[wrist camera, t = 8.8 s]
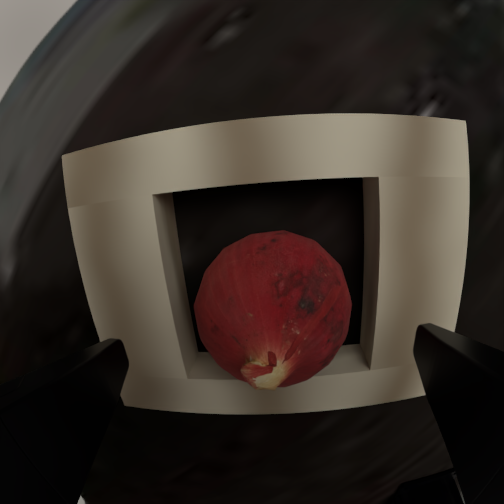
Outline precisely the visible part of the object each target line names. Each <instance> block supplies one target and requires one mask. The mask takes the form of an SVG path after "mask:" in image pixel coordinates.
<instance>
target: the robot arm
mask: <svg viewBox="0 0 504 504" xmlns="http://www.w3.org/2000/svg"><path fill="white" fill-rule="evenodd" d="M413 355H414V359H415V362H416V365H417V368H418V371H419V374H420V378H421V381H422V384H423V388H424V391H425V394H426V397H427V399H428V402H429V404H430V406H431V409H432V411H433V414H434V416H435V418H436V421H437V423H438V426H439V429H440V431H441V434H442V436H443V439H444V442H445V444H446V447H447V450H448V452H449V455H450V458H451V461H452V464H453V466H454V469H452V470H449V471H446V472H443V473H440V474H436V475H433V476H430V477H426V478H423V479H419V480H416V481H412V482H408V483H405V484H403V485H401V486H400V488H399V490H398V492H397V494H396V496H395V497H394V499H393V500H392V502H391V504H464V503H463V500H462V498H461V495H460V493H459V490H458V488H457V485H456V483H455V480H454V479H455V478H456V476H457V478H458V481H459V484H460V487H461V491H462V494H463V497H464V500H465V504H504V352H503V351H500V350H498V349H495V348H493V347H490V346H488V345H485V344H483V343H480V342H477V341H475V340H472V339H470V338H467V337H465V336H462V335H460V334H457V333H455V332H452V331H450V330H447V329H445V328H442V327H440V326H437V325H434V324H432V323H426V324H420V325H418V327H417V329H416V335H415V340H414V346H413ZM128 369H129V359H128V356H127V353H126V350H125V347H124V344H123V342H122V340H120V339H115V338H109V339H106V340H104V341H102V342H100V343H97V344H95V345H93V346H90V347H88V348H86V349H84V350H81V351H79V352H77V353H74V354H72V355H70V356H67V357H65V358H63V359H60V360H58V361H56V362H53V363H51V364H49V365H46V366H44V367H42V368H39V369H37V370H35V371H32V372H30V373H27V374H25V376H24V375H23V376H20V377H18V378H15V379H13V380H10V381H8V382H5V383H3V384H0V504H77V503H78V500H79V498H80V495H81V492H82V490H83V487H84V484H85V482H86V479H87V476H88V474H89V471H90V469H91V466H92V464H93V461H94V459H95V456H96V454H97V451H98V449H99V446H100V444H101V441H102V439H103V437H104V434H105V432H106V429H107V427H108V425H109V422H110V420H111V418H112V415H113V413H114V411H115V408H116V406H117V403H118V400H119V397H120V394H121V391H122V387H123V384H124V381H125V378H126V375H127V372H128Z"/></svg>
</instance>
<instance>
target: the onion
mask: <svg viewBox="0 0 504 504" xmlns="http://www.w3.org/2000/svg"><path fill="white" fill-rule="evenodd" d="M351 307H352V302H351V298H350V293H349V290H348V287H347V284H346V280H345V277H344V274H343V271H342V268H341V265H340V264H339V263H338V262H337V261H336V260H335V259H334V258H333V257H332V256H331V255H330V254H329V253H327V252H326V251H325V250H324V249H323V248H322V247H321V246H320V245H319V244H318V243H317V242H316V241H314V240H313V239H309V238H306V237H303V236H300V235H297V234H294V233H291V232H288V231H285V230H281V231H273V232H264V233H256V234H250V235H248V236H246V237H244V238H243V239H241V240H239V241H237V242H235V243H233V244H231V245H229V246H227V247H225V248H224V249H223V250H222V251H221V252H220V254H219V255H218V256H217V257H216V258H215V260H214V261H213V262H212V263H211V264H210V266H209V267H208V268H207V269H206V270H205V273H204V276H203V279H202V282H201V285H200V288H199V291H198V294H197V297H196V300H195V303H194V311H195V317H196V322H197V327H198V332H199V336H200V339H201V341H202V343H203V344H204V346H205V347H206V349H207V350H208V352H209V353H210V355H211V356H212V357H213V359H214V360H215V362H216V363H217V364H218V365H219V366H220V367H221V368H223V369H224V370H225V371H227V372H228V373H229V374H231V375H232V376H234V377H235V378H236V379H238V380H241V381H244V382H247V383H248V384H249V385H251V386H252V387H253V388H254V389H255V390H263V389H267V390H274V391H275V389H276V388H277V387H288V386H291V385H294V384H297V383H301V382H304V381H306V380H308V379H310V378H311V377H313V376H314V375H316V374H317V373H318V372H320V371H321V370H322V369H324V368H325V367H326V366H328V365H329V364H330V362H331V361H332V360H333V358H334V357H335V355H336V354H337V352H338V350H339V349H340V347H341V346H342V344H343V342H344V341H345V339H346V336H347V333H348V328H349V322H350V315H351Z"/></svg>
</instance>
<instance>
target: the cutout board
mask: <svg viewBox="0 0 504 504" xmlns="http://www.w3.org/2000/svg"><path fill="white" fill-rule="evenodd" d="M62 164H63V174H64V182H65V190H66V198H67V205H68V211H69V217H70V223H71V229H72V234H73V240H74V245H75V249H76V254H77V259H78V263H79V268H80V272H81V276H82V280H83V284H84V288H85V292H86V296H87V299H88V303H89V306H90V310H91V313H92V317H93V320H94V323H95V327H96V330H97V333H98V336H99V339H100V342H102V341H104V340H106V339H109V338H115V339H120V340H122V342H123V344H124V347H125V350H126V353H127V356H128V359H129V369H128V372H127V375H126V378H125V381H124V384H123V387H122V391H121V394H120V395H121V398H122V400H123V402H124V405H125V406H131V407H138V408H146V409H155V410H165V411H176V412H189V413H207V414H284V413H302V412H316V411H327V410H337V409H345V408H353V407H361V406H368V405H375V404H381V403H387V402H392V401H398V400H403V399H408V398H413V397H418V396H422V395H426V394H425V391H424V388H423V384H422V381H421V378H420V374H419V371H418V368H417V365H416V362H415V359H414V355H413V346H414V340H415V335H416V329H417V327H418V325H420V324H426V323H432V324H434V325H437V326H440V327H442V328H445V329H447V330H450V331H452V332H454V330H455V326H456V321H457V316H458V310H459V305H460V299H461V292H462V286H463V278H464V271H465V262H466V252H467V240H468V224H469V156H468V141H467V129H466V121H461V120H453V119H444V118H434V117H423V116H409V115H391V114H307V115H288V116H274V117H262V118H251V119H241V120H232V121H224V122H216V123H209V124H202V125H195V126H189V127H183V128H177V129H171V130H166V131H160V132H155V133H150V134H145V135H141V136H136V137H131V138H127V139H122V140H118V141H114V142H110V143H106V144H102V145H98V146H94V147H90V148H87V149H83V150H80V151H76V152H73V153H69V154H66V155H63V156H62ZM352 177H362V180H363V205H364V279H363V303H362V320H361V334H360V344H353V345H343V346H341V347H340V349H339V350H338V352H337V354H336V355H335V357H334V358H333V360H332V361H331V362H330V364H329V365H328V366H326V367H325V368H324V369H322V370H321V371H320V372H318V373H317V374H316V375H314V376H313V377H311V378H310V379H308V380H306V381H304V382H301V383H297V384H294V385H291V386H288V387H277V388H276V389H275V391H274V390H267V389H263V390H255V389H254V388H253V387H252V386H251V385H249V384H248V383H247V382H244V381H241V380H238V379H236V378H235V377H234V376H232V375H231V374H229V373H228V372H227V371H225V370H224V369H223V368H221V367H220V366H219V365H218V364H217V363H216V362H215V360H214V359H213V357H212V356H211V355H210V353H209V352H198V348H197V343H196V338H195V333H194V328H193V323H192V318H191V312H190V307H189V301H188V296H187V290H186V284H185V278H184V272H183V266H182V260H181V253H180V247H179V240H178V233H177V226H176V219H175V211H174V203H173V195H172V192H176V191H184V190H192V189H201V188H210V187H220V186H230V185H240V184H252V183H264V182H277V181H291V180H308V179H327V178H352Z"/></svg>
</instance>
